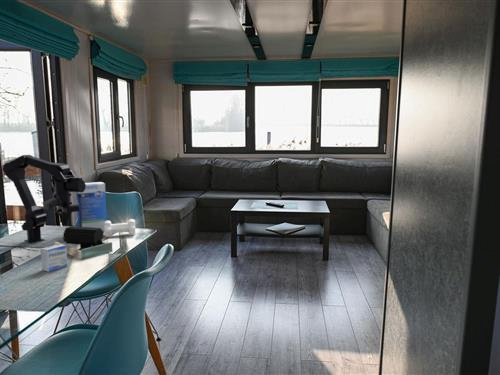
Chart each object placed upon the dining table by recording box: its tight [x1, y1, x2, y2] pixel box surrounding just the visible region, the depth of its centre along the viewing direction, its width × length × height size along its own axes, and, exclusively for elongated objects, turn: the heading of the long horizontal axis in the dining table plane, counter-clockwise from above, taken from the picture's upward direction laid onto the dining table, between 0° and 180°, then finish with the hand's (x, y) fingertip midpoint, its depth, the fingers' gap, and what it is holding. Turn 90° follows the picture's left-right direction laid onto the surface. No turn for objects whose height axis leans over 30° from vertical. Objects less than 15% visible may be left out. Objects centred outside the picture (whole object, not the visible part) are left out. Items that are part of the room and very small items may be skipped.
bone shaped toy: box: [103, 218, 136, 238], centre depth 196 cm, size 15×9×8 cm, turn 108°
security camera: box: [62, 225, 104, 250], centre depth 171 cm, size 7×18×10 cm, turn 80°
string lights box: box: [75, 181, 108, 233], centre depth 199 cm, size 13×8×26 cm, turn 124°
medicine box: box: [40, 243, 68, 273], centre depth 149 cm, size 8×4×9 cm, turn 148°
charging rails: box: [52, 240, 113, 260], centre depth 172 cm, size 24×14×4 cm, turn 53°
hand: (64, 224), depth 179 cm, fingers closed
